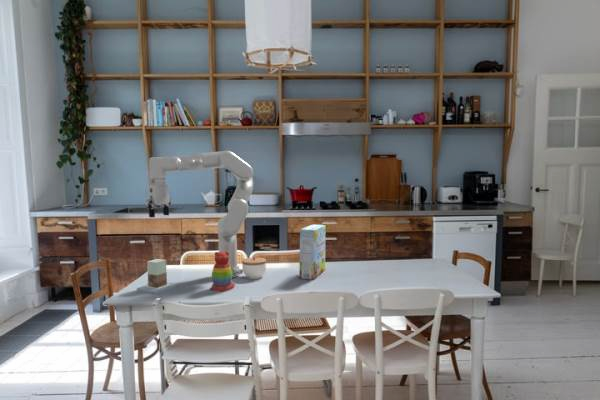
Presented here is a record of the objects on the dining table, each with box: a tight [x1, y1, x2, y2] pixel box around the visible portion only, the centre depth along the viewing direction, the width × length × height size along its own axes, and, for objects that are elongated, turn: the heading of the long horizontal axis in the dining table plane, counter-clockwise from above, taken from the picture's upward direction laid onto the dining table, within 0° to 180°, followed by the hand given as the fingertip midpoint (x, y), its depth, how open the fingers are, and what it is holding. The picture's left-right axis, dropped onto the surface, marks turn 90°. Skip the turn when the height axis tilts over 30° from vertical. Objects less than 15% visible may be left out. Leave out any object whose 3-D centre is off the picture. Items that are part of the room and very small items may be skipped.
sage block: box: [146, 258, 167, 275], centre depth 201 cm, size 6×6×6 cm
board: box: [136, 281, 178, 295], centre depth 202 cm, size 12×14×1 cm
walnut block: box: [147, 271, 168, 288], centre depth 202 cm, size 6×6×6 cm
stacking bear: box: [211, 251, 236, 292], centre depth 200 cm, size 11×10×18 cm
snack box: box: [298, 224, 327, 281], centre depth 224 cm, size 22×9×26 cm, turn 161°
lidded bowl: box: [241, 255, 267, 280], centre depth 220 cm, size 13×13×11 cm
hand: (159, 216), depth 211 cm, fingers open, 9 cm apart
